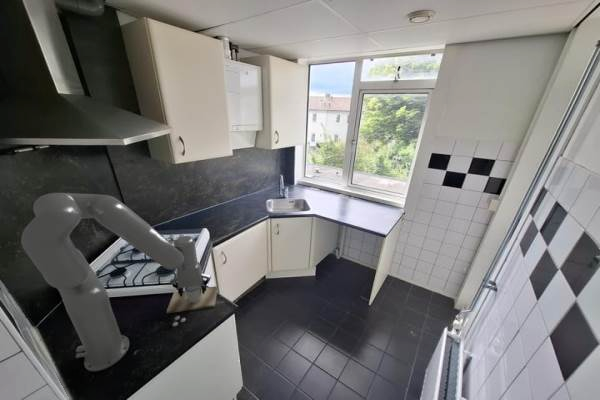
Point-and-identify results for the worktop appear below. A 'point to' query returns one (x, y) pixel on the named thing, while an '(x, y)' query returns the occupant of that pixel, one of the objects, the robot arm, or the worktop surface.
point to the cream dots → (177, 319)
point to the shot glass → (193, 293)
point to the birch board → (184, 304)
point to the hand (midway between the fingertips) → (193, 293)
